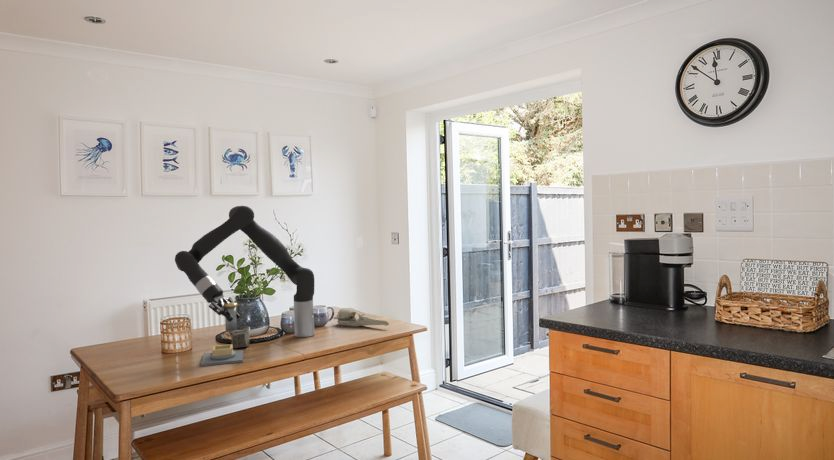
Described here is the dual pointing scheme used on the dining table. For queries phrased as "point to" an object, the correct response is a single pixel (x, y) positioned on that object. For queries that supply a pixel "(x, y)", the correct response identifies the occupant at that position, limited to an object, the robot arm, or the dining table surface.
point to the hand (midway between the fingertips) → (235, 318)
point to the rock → (241, 338)
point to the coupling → (232, 310)
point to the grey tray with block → (222, 356)
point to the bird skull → (348, 319)
